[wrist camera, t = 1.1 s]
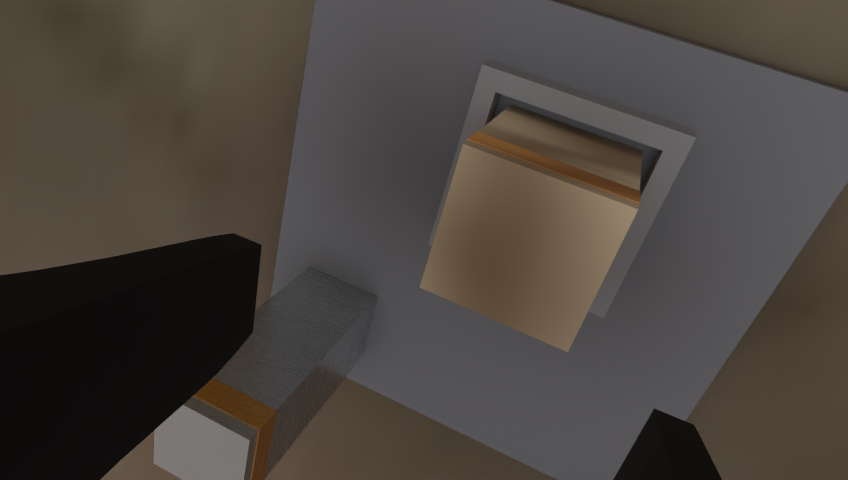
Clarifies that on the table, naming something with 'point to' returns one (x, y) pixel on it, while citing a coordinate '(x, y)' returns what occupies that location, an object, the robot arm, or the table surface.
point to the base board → (639, 252)
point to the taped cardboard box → (533, 223)
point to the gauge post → (270, 382)
